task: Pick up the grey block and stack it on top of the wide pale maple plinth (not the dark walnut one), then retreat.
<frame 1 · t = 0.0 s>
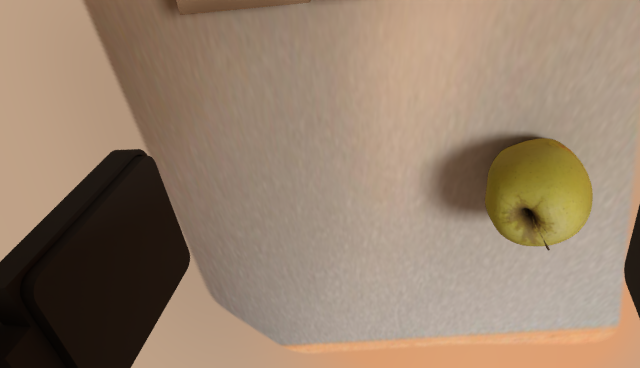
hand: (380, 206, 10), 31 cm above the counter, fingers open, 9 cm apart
apple: (528, 162, 44), on the counter
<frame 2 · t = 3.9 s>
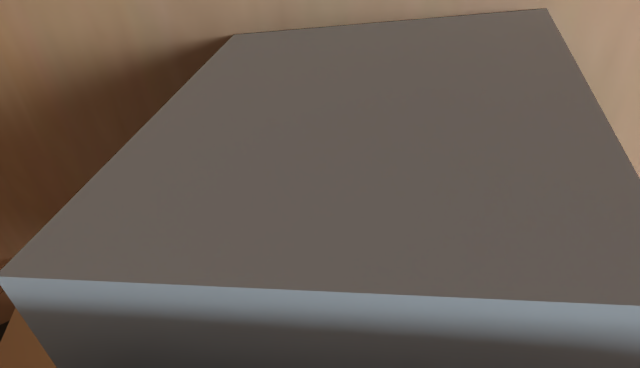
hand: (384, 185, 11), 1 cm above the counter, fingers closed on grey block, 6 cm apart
grey block: (389, 155, 11), on the counter, touching gripper
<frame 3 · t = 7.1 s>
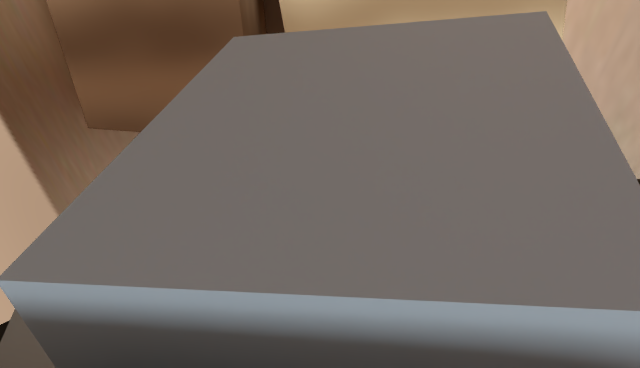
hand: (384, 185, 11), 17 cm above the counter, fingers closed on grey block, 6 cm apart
grey block: (389, 157, 11), point 16 cm above the counter, touching gripper
walnut plinth: (178, 3, 28), on the counter
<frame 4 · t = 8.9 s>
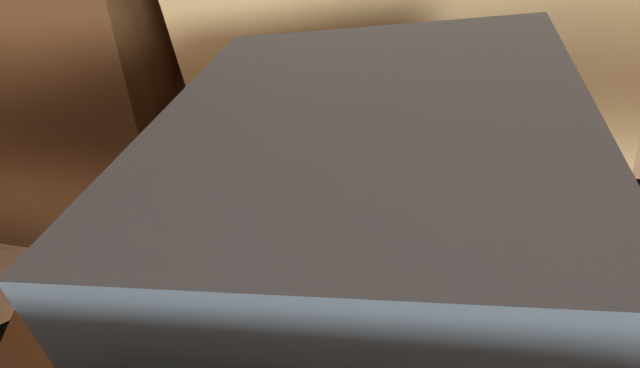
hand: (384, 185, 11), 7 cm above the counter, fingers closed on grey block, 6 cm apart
grey block: (389, 158, 11), point 6 cm above the counter, touching gripper
walnut plinth: (68, 68, 20), on the counter
maple plinth: (406, 43, 17), on the counter
when the fingers open (5 cm above the counter, at t = 10.5 s): grey block stays where it is, point 3 cm above the counter.
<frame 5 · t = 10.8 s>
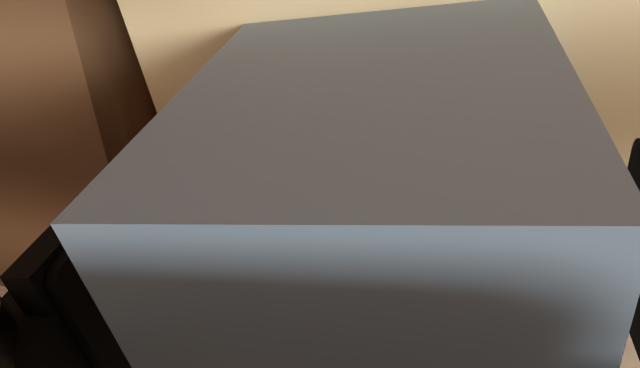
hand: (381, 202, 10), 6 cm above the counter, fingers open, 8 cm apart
grey block: (390, 137, 12), point 3 cm above the counter
walnut plinth: (40, 93, 18), on the counter
maple plinth: (403, 70, 15), on the counter
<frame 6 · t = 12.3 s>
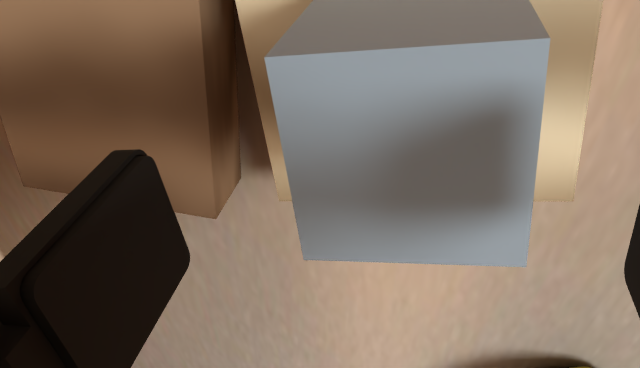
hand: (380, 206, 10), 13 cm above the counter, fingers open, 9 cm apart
grey block: (416, 67, 18), point 3 cm above the counter, touching maple plinth
walnut plinth: (139, 53, 24), on the counter
maple plinth: (414, 28, 21), on the counter, touching grey block
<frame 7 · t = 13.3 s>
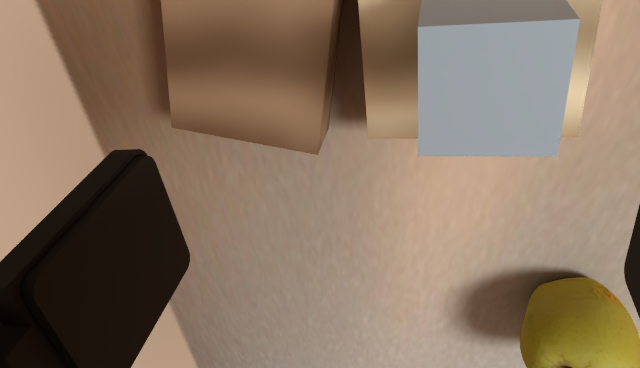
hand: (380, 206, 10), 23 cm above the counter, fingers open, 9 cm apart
grey block: (481, 41, 27), point 3 cm above the counter, touching maple plinth
walnut plinth: (263, 32, 33), on the counter
maple plinth: (470, 16, 30), on the counter, touching grey block
apple: (564, 295, 40), on the counter
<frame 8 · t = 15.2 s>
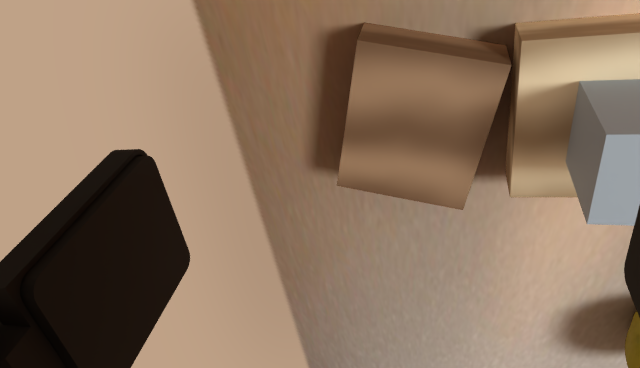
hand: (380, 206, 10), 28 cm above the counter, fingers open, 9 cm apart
grey block: (622, 122, 33), point 3 cm above the counter
walnut plinth: (416, 107, 40), on the counter
maple plinth: (597, 97, 37), on the counter
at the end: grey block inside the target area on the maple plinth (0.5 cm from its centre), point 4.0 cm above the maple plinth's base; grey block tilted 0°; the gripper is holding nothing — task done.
